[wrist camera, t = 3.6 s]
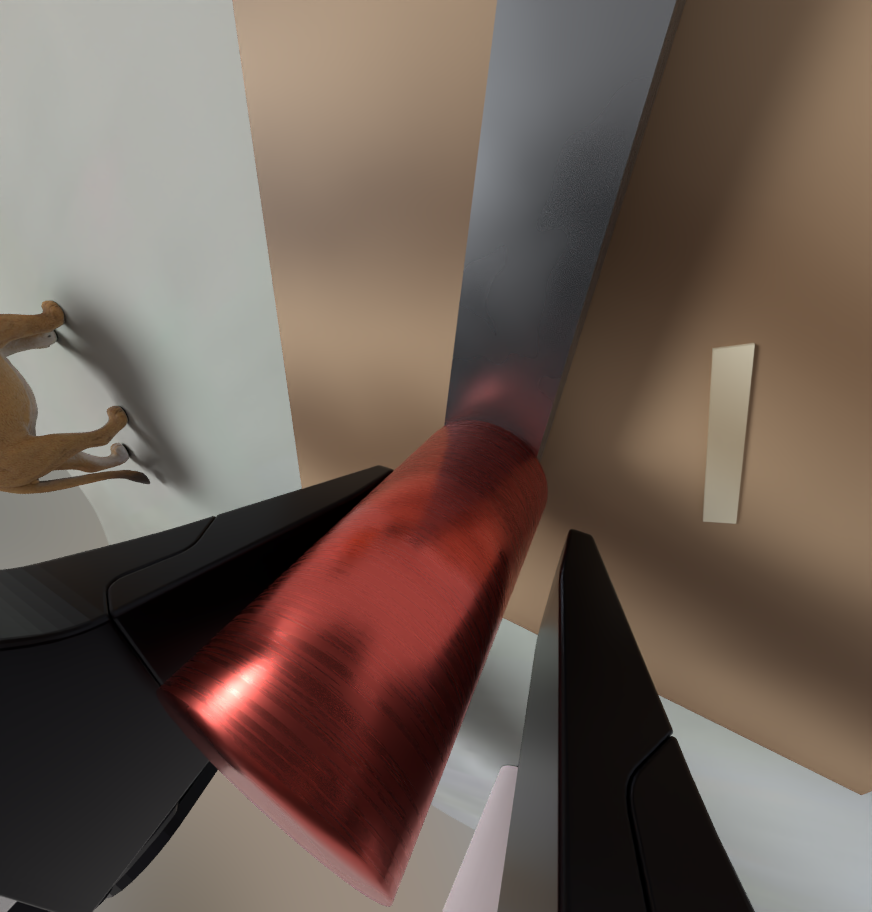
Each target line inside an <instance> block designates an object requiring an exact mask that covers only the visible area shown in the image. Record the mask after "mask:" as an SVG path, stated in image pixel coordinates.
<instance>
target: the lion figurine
mask: <svg viewBox="0 0 872 912" xmlns="http://www.w3.org/2000/svg"><path fill="white" fill-rule="evenodd" d="M41 307H42V309H43V313H41V314H37V315H18V314H0V491H3V492H9V493H17V494H29V493H30V494H31V493H44V492H51V491H56V490H62V489H67V488H71V487H75V486H79V485H84V484H88V483H93V482H97V481H101V480H106V479H114V478H124V479H129V480H132V481H135V482H139V483H144V484H150V481H149V479H148V478H147V476H146V475H145V474H143V473H141V472H138V471H131V470H120V471H107V472H100V473H93V474H87V475H82V476H76V477H69V478H62V479H56V480H48V481H39V479H38V478H40V477H43V476H44V475H46V474H48V473H49V472H51V471H53V470H68V469H73V470H80V471H84V472H88V473H92V472H97V471H101V470H104V469H108V468H111V467H115V466H118V465H121V464H123V463H125V462H126V461H127V460H128V459H129V455H128V452H127V451H126V449H125V447H124V446H123V445H121V444H120V443H115V444H113V445H112V446H111V455H110V456H108V457H97V456H93V455H90V454H87V453H84V452H82V451H83V450H84V449H87V448H91V447H98V446H103V445H106V444H108V443H109V442H110V441H111V439H112V438H113V437H114V436H115V435H116V434H117V433H118V432H119V431H120V430H121V429H122V428H124V427H125V426H126V424H127V422H128V419H127V416H126V414H125V412H124V411H123V409H122V408H121V407H119V406H112V407H110V408H108V409H107V414H108V416H109V420H108V422H107V423H106V424H105V425H104V426H103V427H101V428H100V429H97V430H95V431H91V432H83V433H59V434H49V435H44V436H36V430H35V426H36V420H37V415H38V408H37V404H36V400H35V396H34V394H33V392H32V390H31V388H30V386H29V384H28V383H27V382H26V380H25V379H24V377H23V376H22V375H21V374H20V373H19V371H18V370H17V369H16V368H15V367H14V366H13V365H12V364H11V362H10V361H9V360H8V359H7V358H6V357H7V356H9V355H12V354H14V353H17V352H21V351H25V350H29V349H41V348H47V347H50V345H52V344H53V343H55V342H56V340H57V336H56V333H55V332H54V329H56V328H58V327H60V326H61V325H63V324H64V313H63V311H62V309H61V308H60V306H59V305H58V304H57V303H55V302H53V301H44V302H43V303H42V306H41Z"/></svg>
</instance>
